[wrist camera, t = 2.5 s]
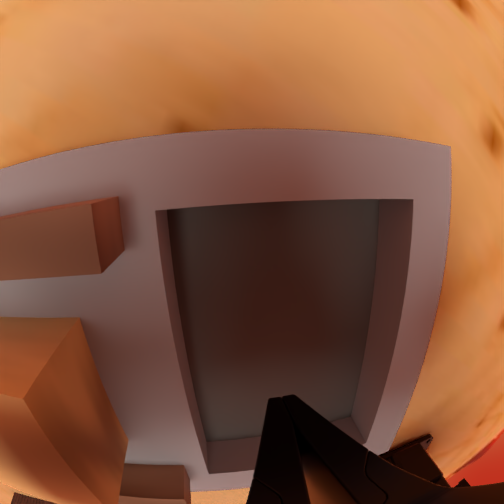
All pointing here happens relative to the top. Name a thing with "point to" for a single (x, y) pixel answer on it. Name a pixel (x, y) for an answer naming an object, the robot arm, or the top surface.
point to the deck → (249, 283)
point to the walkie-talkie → (27, 500)
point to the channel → (74, 264)
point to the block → (56, 415)
